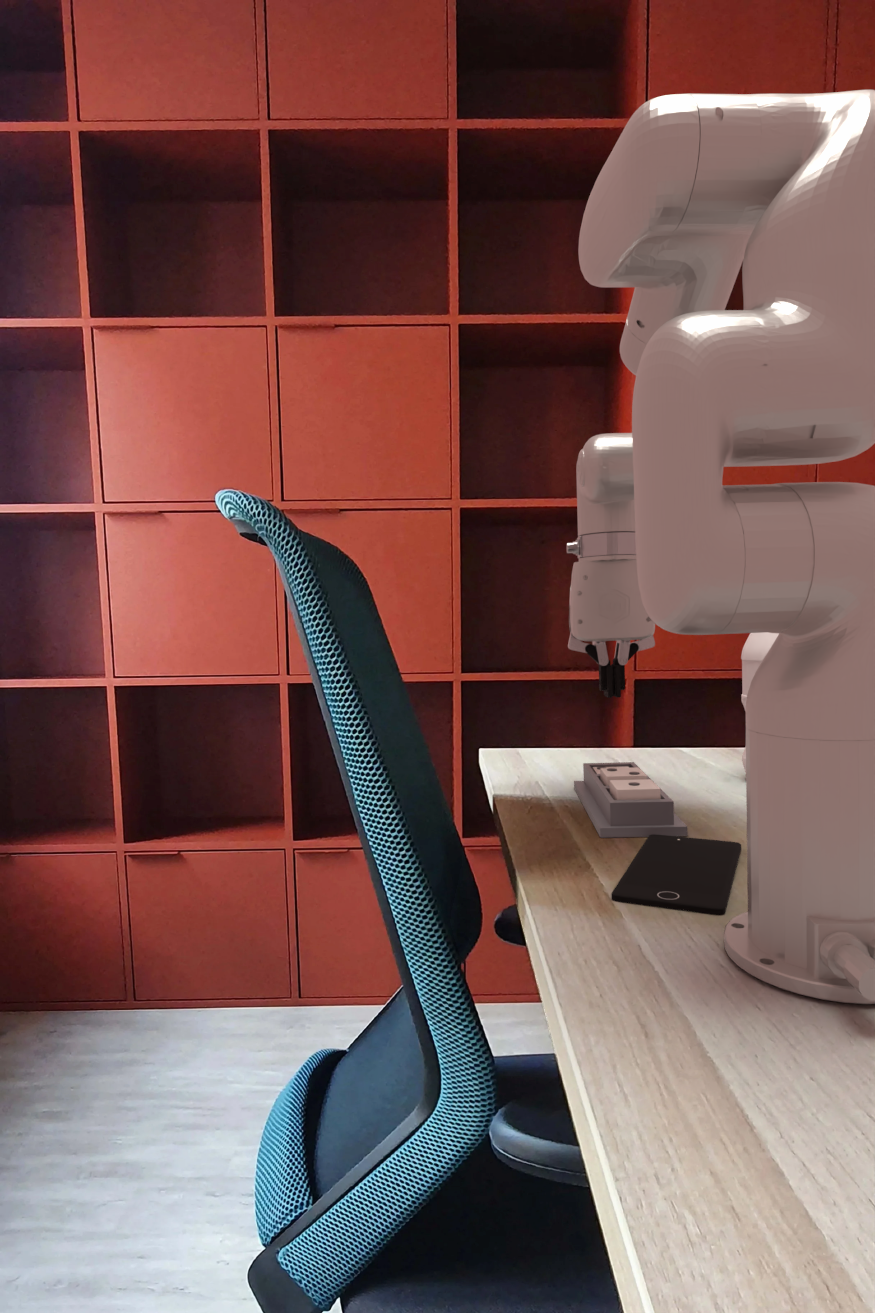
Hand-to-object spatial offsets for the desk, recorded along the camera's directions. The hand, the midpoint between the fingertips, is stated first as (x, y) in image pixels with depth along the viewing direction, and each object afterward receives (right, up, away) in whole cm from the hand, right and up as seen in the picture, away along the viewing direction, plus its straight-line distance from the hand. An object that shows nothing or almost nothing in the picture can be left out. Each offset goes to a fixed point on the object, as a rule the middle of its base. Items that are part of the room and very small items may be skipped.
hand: (612, 696), depth 96 cm
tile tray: (0, -13, -6) cm, 14 cm away
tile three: (0, -12, +1) cm, 12 cm away
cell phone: (0, -15, -27) cm, 31 cm away
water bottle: (+23, -12, +6) cm, 26 cm away
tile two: (0, -11, -6) cm, 12 cm away
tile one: (0, -11, -12) cm, 17 cm away
